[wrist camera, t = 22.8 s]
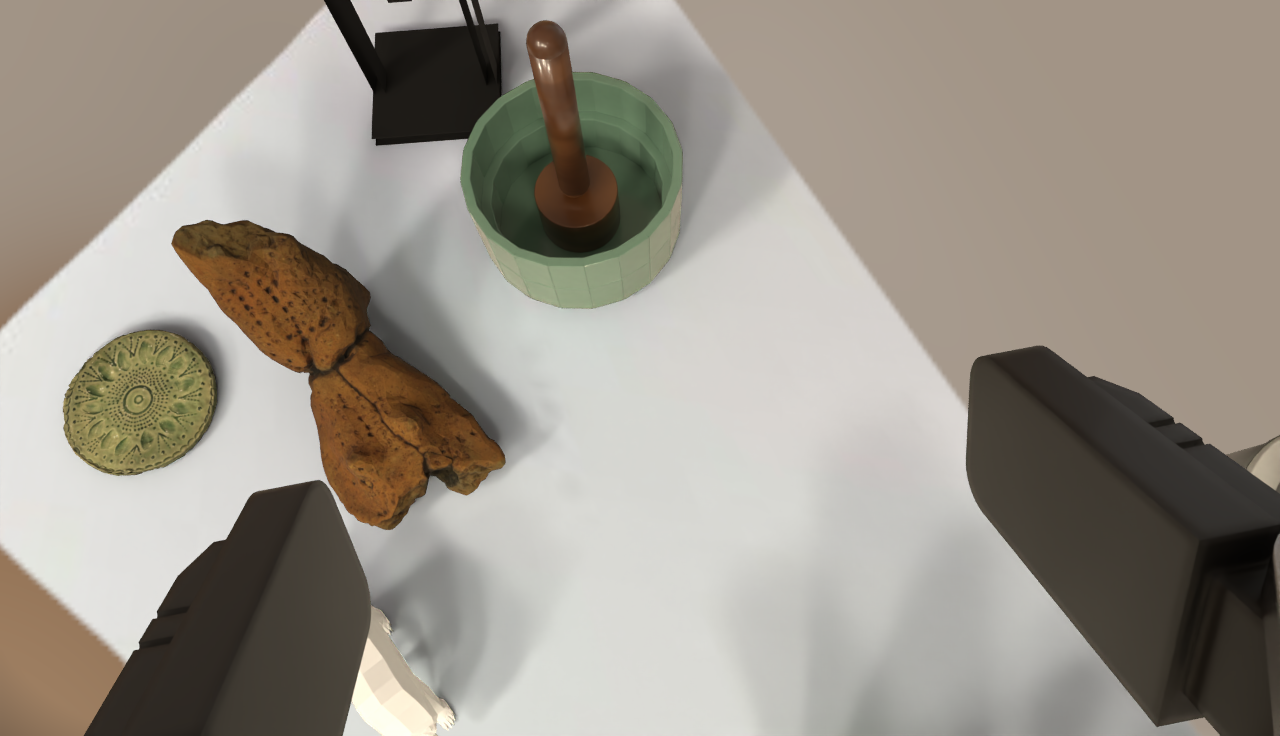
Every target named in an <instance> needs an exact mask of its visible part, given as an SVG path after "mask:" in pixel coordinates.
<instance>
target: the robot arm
mask: <svg viewBox="0 0 1280 736" xmlns="http://www.w3.org/2000/svg"><path fill="white" fill-rule="evenodd" d="M969 389H970V390H969V408H968V428H967V448H966V471H967V477H968V481H969V485H970V488H971V491H972V494H973V496H974V499H975V501H976V503H977V504H978V506H979V508H980V509H981V511H982V512H983V513H984V515H985V516H986V517H987V518H988V520H989V521H990V522H991V523H992V525H993V526H994V527H995V528H996V529H997V531H998V532H999V533H1000V534H1001V536H1002V537H1003V538H1004V539H1005V541H1006V542H1007V543H1008V544H1009V546H1010V547H1011V548H1012V549H1013V550H1014V552H1015V553H1016V554H1017V555H1018V557H1019V558H1020V559H1021V560H1022V562H1023V563H1024V564H1025V565H1026V566H1027V568H1028V569H1029V570H1030V571H1031V573H1032V574H1033V575H1034V576H1035V578H1036V579H1037V580H1038V581H1039V582H1040V584H1041V585H1042V586H1043V587H1044V589H1045V590H1046V591H1047V592H1048V594H1049V595H1050V596H1051V597H1052V599H1053V600H1054V601H1055V602H1056V603H1057V605H1058V606H1059V607H1060V608H1061V610H1062V611H1063V612H1064V613H1065V615H1066V616H1067V617H1068V618H1069V619H1070V621H1071V622H1072V623H1073V624H1074V626H1075V627H1076V628H1077V629H1078V631H1079V632H1080V633H1081V634H1082V635H1083V637H1084V638H1085V639H1086V640H1087V642H1088V643H1089V644H1090V645H1091V647H1092V648H1093V649H1094V650H1095V652H1096V653H1097V654H1098V655H1099V656H1100V658H1101V659H1102V660H1103V661H1104V663H1105V664H1106V665H1107V666H1108V668H1109V669H1110V670H1111V671H1112V672H1113V674H1114V675H1115V676H1116V677H1117V679H1118V680H1119V681H1120V682H1121V684H1122V685H1123V686H1124V687H1125V689H1126V690H1127V691H1128V692H1129V693H1130V695H1131V696H1132V697H1133V698H1134V700H1135V701H1136V702H1137V703H1138V705H1139V706H1140V707H1141V708H1142V709H1143V711H1144V712H1145V713H1146V714H1147V716H1148V717H1149V718H1150V719H1151V721H1152V722H1153V723H1154V724H1155V725H1156V727H1159V726H1164V725H1169V724H1174V723H1179V722H1184V721H1188V720H1193V719H1198V718H1203V717H1205V718H1206V720H1207V721H1208V722H1209V723H1210V724H1211V725H1212V726H1213V728H1214V729H1215V730H1216V731H1217V732H1218V733H1219V734H1220V736H1280V483H1279V484H1278V486H1277V489H1276V491H1275V490H1274V489H1273V488H1271V487H1270V486H1268V485H1267V484H1266V483H1264V482H1263V481H1261V480H1260V479H1259V478H1257V477H1256V476H1254V475H1253V474H1252V473H1250V472H1249V471H1247V470H1246V469H1245V468H1243V467H1242V466H1240V465H1239V464H1238V463H1236V462H1235V461H1233V460H1232V459H1231V458H1229V457H1228V456H1226V455H1225V454H1224V453H1222V452H1221V451H1219V450H1218V449H1217V448H1215V447H1214V446H1212V445H1211V444H1206V445H1204V443H1203V441H1202V438H1201V437H1200V436H1198V435H1197V434H1196V433H1194V432H1193V431H1191V430H1190V429H1189V428H1187V427H1186V426H1184V425H1183V424H1181V423H1177V424H1175V422H1174V420H1173V419H1174V418H1173V417H1172V416H1170V415H1169V414H1167V413H1166V412H1165V411H1163V410H1162V409H1160V408H1159V407H1158V406H1156V405H1155V404H1153V403H1152V402H1151V401H1149V400H1148V399H1146V398H1145V397H1144V396H1142V395H1141V394H1139V393H1137V392H1134V391H1131V390H1129V389H1126V388H1124V387H1121V386H1118V385H1116V384H1113V383H1110V382H1108V381H1105V380H1103V379H1100V378H1098V377H1095V376H1092V377H1086V376H1085V375H1083V374H1082V373H1081V372H1079V371H1078V370H1077V369H1075V368H1074V367H1073V366H1071V365H1070V364H1069V363H1067V362H1066V361H1065V360H1063V359H1062V358H1061V357H1059V356H1058V355H1057V354H1056V353H1054V352H1053V351H1051V350H1050V349H1048V348H1047V347H1044V346H1033V347H1028V348H1023V349H1018V350H1012V351H1007V352H1002V353H996V354H991V355H986V356H981V357H978V358H977V359H976V360H975V362H974V363H973V366H972V369H971V373H970V388H969ZM157 615H158V616H157V619H152V621H151V622H150V624H149V626H148V628H147V629H146V631H145V633H144V634H143V636H142V638H141V639H140V641H139V645H140V648H139V650H134V651H133V653H132V655H131V656H130V658H129V660H128V662H127V663H126V665H125V667H124V668H123V670H122V672H121V673H120V675H119V677H118V678H117V680H116V682H115V684H114V685H113V687H112V689H111V690H110V692H109V694H108V695H107V697H106V699H105V701H104V702H103V704H102V706H101V707H100V709H99V711H98V712H97V714H96V716H95V718H94V719H93V721H92V723H91V724H90V726H89V728H88V729H87V731H86V733H85V735H84V736H343V732H344V728H345V724H346V720H347V716H348V712H349V708H350V704H351V700H352V696H353V692H354V688H355V684H356V681H357V677H358V673H359V669H360V665H361V661H362V657H363V653H364V649H365V645H366V641H367V637H368V633H369V629H370V623H371V599H370V592H369V587H368V583H367V579H366V576H365V573H364V571H363V568H362V566H361V564H360V561H359V559H358V556H357V554H356V551H355V549H354V546H353V544H352V542H351V539H350V537H349V534H348V532H347V529H346V527H345V524H344V522H343V519H342V517H341V515H340V512H339V510H338V507H337V505H336V502H335V500H334V497H333V495H332V493H331V491H330V490H329V488H328V487H327V485H326V484H325V483H323V482H322V481H320V480H316V481H310V482H305V483H300V484H294V485H289V486H284V487H279V488H273V489H268V490H263V491H257V492H255V493H253V494H252V495H251V496H250V497H249V499H248V500H247V502H246V504H245V506H244V508H243V510H242V511H241V513H240V515H239V517H238V519H237V521H236V522H235V524H234V526H233V528H232V530H231V532H230V534H229V535H228V537H227V539H226V540H222V541H217V542H213V543H212V544H211V545H210V546H209V547H208V548H207V549H206V550H205V551H204V552H203V553H202V554H201V555H200V556H199V557H197V558H196V559H195V560H194V561H193V562H192V563H191V564H190V565H189V566H188V567H187V568H186V569H185V570H184V571H183V572H182V573H181V574H179V575H178V577H177V578H176V580H175V582H174V583H173V585H172V587H171V589H170V590H169V592H168V594H167V595H166V597H165V599H164V600H163V602H162V604H161V606H160V607H159V609H158V611H157Z"/></svg>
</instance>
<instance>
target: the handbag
mask: <svg viewBox="0 0 1280 736" xmlns="http://www.w3.org/2000/svg"><path fill="white" fill-rule="evenodd" d="M324 1H325V3H326V5H327V7H328V9H329V11H330V12H331V14H332V16H333V18H334V20H335V22H336V23H337V25H338V27H339V29H340V31H341V33H342V35H343V36H344V38H345V40H346V42H347V44H348V46H349V47H350V49H351V51H352V53H353V55H354V57H355V58H356V60H357V62H358V64H359V66H360V68H361V70H362V71H363V73H364V75H365V77H366V79H367V81H368V82H369V84H370V86H371V88H372V90H373V114H372V139H376V146H378V145H391V144H404V143H417V142H430V141H443V140H456V139H469V137H470V135H471V132H472V130H473V128H474V126H475V124H476V122H477V121H478V119H479V118H480V117H481V116H482V115H483V114H484V113H485V112H486V111H487V110H488V109H489V108H490V107H491V106H492V105H493V104H494V102H495V101H496V100H497V99H498V98H500V97H501V96H502V90H501V46H500V31H498V24H486V25H485V23H484V19H483V16H482V12H481V9H480V6H479V2H478V0H471V1H472V4H473V8H474V11H475V14H476V17H477V21H478V24H479V25H474V23H473V20H472V17H471V14H470V10H469V7H468V4H467V1H466V0H459V2H460V5H461V8H462V11H463V14H464V17H465V20H466V23H467V26H460V27H447V28H434V29H421V30H408V31H395V32H382V33H375V49H374V47H373V45H372V42H371V40H370V38H369V36H368V34H367V32H366V30H365V28H364V26H363V24H362V22H361V20H360V18H359V16H358V14H357V12H356V10H355V8H354V6H353V4H352V2H351V0H324ZM387 1H388V3H393V2H406V1H412V0H387Z"/></svg>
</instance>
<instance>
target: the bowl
mask: <svg viewBox="0 0 1280 736" xmlns="http://www.w3.org/2000/svg"><path fill="white" fill-rule="evenodd" d="M572 74H573V80H574V86H575V92H576V98H577V105H578V111H579V117H580V123H581V129H582V136H583V142H584V148H585V154H586V155H589V156H593V157H595V158H597V159H599V160H601V161H602V162H604V163H605V164H606V165H607V166H608V167H609V168H610V169H611V171H612V172H613V174H614V176H615V178H616V181H617V186H618V195H619V205H620V224H619V227H618V229H617V232H616V233H615V235H614V236H613V238H612V239H611V240H610V241H609V242H608V243H606V244H605V245H604V246H602V247H600V248H598V249H596V250H593V251H590V252H583V253H577V252H570V251H567V250H564V249H562V248H560V247H558V246H557V245H555V244H554V243H553V242H552V241H551V240H550V239H549V238H548V236H547V235H546V233H545V231H544V228H543V225H542V221H541V218H540V215H539V211H538V208H537V205H536V201H535V196H534V189H535V184H536V181H537V178H538V176H539V175H540V173H541V171H542V170H543V169H544V168H545V167H546V166H547V165H548V164H549V163H551V162H552V161H553V157H552V153H551V148H550V144H549V140H548V136H547V131H546V127H545V123H544V119H543V114H542V110H541V106H540V101H539V97H538V93H537V89H536V84H535V80H534V79H533V80H529V81H527V82H525V83H523V84H521V85H520V86H518V87H516V88H515V89H513V90H511V91H510V92H508V93H506V94H504V95H503V96H501V97H500V98H498V99H497V100H496V101H495V102H494V104H493V105H492V106H491V107H490V108H489V109H488V110H487V111H486V112H485V113H484V114H483V115H482V116H481V117H480V118H479V119H478V121H477V122H476V124H475V126H474V128H473V130H472V132H471V135H470V137H469V139H468V141H467V143H466V145H465V147H464V150H463V158H462V168H461V177H460V180H461V181H460V182H461V185H462V189H463V193H464V197H465V201H466V205H467V208H468V211H469V213H470V215H471V217H472V220H473V222H474V224H475V226H476V228H477V230H478V232H479V234H480V237H481V239H482V241H483V243H484V245H485V247H486V249H487V251H488V253H489V256H490V258H491V259H492V261H493V262H494V263H495V265H496V266H497V268H498V269H499V271H500V272H501V274H502V275H503V276H504V278H505V279H506V280H507V282H509V283H510V284H512V285H513V286H514V287H516V288H517V289H519V290H520V291H521V292H523V293H524V294H525V295H527V296H528V297H530V298H532V299H535V300H538V301H541V302H544V303H547V304H550V305H553V306H556V307H561V308H581V309H593V308H597V307H600V306H604V305H607V304H611V303H614V302H618V301H621V300H624V299H626V298H628V297H629V296H631V295H632V294H634V293H635V292H637V291H638V290H640V289H642V288H643V287H645V286H646V285H648V284H649V283H650V282H651V281H652V280H653V279H654V278H655V277H656V275H657V274H658V273H659V272H660V270H661V269H662V268H663V267H664V266H665V264H666V263H667V262H668V261H669V258H670V257H671V254H672V252H673V249H674V246H675V243H676V241H677V238H678V235H679V231H680V218H681V198H682V164H683V152H682V148H681V145H680V143H679V140H678V137H677V134H676V132H675V129H674V126H673V123H672V122H671V120H670V119H669V118H668V117H667V116H666V114H665V113H664V112H663V111H662V110H661V108H660V107H659V106H658V105H657V104H656V102H655V101H654V100H653V99H652V98H651V97H649V96H648V95H646V94H644V93H643V92H641V91H640V90H638V89H637V88H635V87H633V86H632V85H630V84H629V83H627V82H625V81H622V80H619V79H615V78H612V77H608V76H605V75H601V74H597V73H593V72H572Z"/></svg>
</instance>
